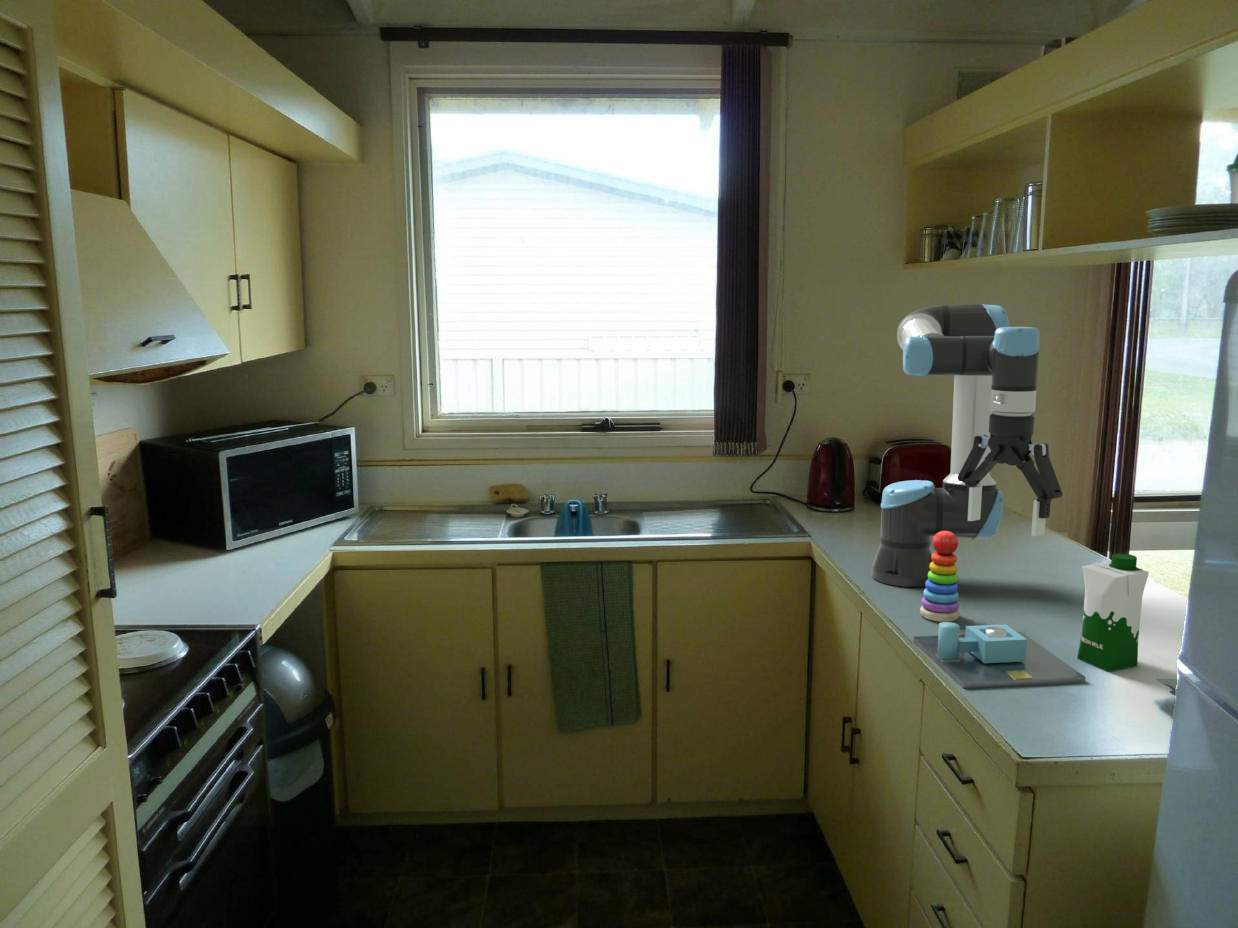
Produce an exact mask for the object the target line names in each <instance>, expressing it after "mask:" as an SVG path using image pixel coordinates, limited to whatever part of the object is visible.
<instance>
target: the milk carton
mask: <svg viewBox="0 0 1238 928" xmlns="http://www.w3.org/2000/svg"><path fill="white" fill-rule="evenodd" d="M1137 561H1138V557H1137V556H1136V555H1133V554H1130V553H1122V552H1118V553H1112V554H1111V560H1110V561H1104V562H1095V563H1094V562H1093V563H1091V564H1088V565H1082V566H1081V568H1082V574H1083V581H1084V602H1083V615H1082V627H1081V635H1080V640H1079V645H1078V646H1079V647H1078V651H1077V652H1078V653H1077V656H1076V658H1077V659H1079V660H1081V661H1082V662H1085V663H1088V664H1090V665H1092V666H1094V667H1097V668H1099V669H1100V670H1103V671H1106V672H1108V673H1110V672H1115V671H1120V670H1123V669H1124V670H1125V669H1130V668H1134V667H1138V666H1139V665H1138V664H1139V663H1138V662H1139V661H1138V657H1139V637H1140V625H1141V616H1142V615H1141V614H1142V604H1143V596H1144V591H1145V588H1146V584H1147V580H1148V578H1149V573H1150V572H1149V571H1147V570H1144V569H1142V568H1139V567H1137V563H1138V562H1137Z"/></svg>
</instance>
